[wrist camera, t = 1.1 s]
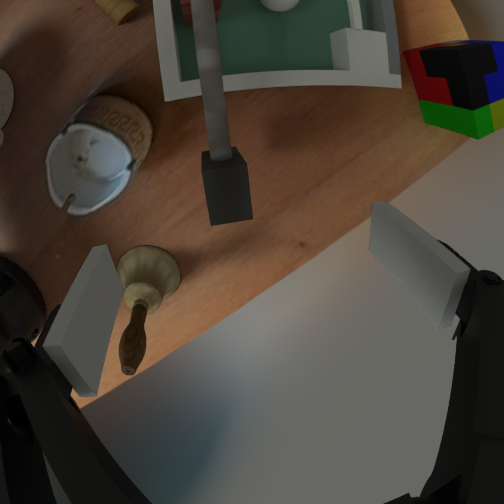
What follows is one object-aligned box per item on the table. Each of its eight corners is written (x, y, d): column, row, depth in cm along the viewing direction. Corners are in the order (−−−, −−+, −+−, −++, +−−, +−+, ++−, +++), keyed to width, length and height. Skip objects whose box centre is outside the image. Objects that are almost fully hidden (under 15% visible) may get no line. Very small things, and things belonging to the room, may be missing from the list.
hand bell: (105, 271, 36) (69, 366, 23) (147, 232, 35) (120, 325, 21) (150, 309, 40) (138, 407, 27) (193, 276, 39) (195, 376, 25)
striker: (206, 182, 31) (209, 229, 21) (175, -76, 15) (168, -133, 6) (237, 177, 31) (255, 222, 21) (206, -80, 16) (212, -138, 6)
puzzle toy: (451, 40, 27) (504, 41, 18) (469, 104, 32) (520, 118, 23) (402, 51, 28) (457, 50, 19) (424, 122, 33) (478, 139, 24)
